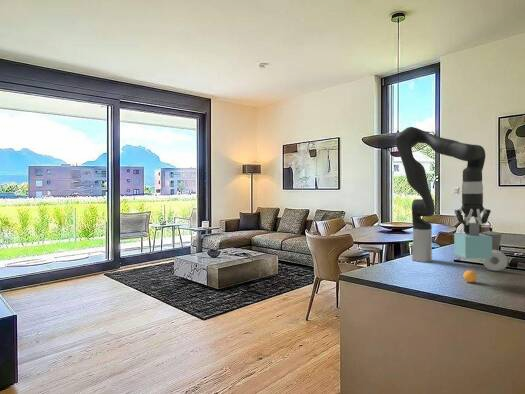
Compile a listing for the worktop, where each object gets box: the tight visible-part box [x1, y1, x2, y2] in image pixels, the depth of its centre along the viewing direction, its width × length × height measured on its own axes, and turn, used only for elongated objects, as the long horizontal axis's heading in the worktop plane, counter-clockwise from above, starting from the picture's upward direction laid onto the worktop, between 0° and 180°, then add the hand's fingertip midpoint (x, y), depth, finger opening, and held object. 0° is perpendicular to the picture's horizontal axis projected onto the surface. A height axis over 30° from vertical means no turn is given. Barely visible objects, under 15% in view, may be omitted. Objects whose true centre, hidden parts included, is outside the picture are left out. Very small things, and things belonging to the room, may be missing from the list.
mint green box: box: [453, 222, 492, 259], centre depth 146 cm, size 10×10×14 cm
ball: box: [463, 269, 478, 283], centre depth 146 cm, size 5×5×5 cm
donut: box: [482, 250, 508, 272], centre depth 164 cm, size 10×4×10 cm, turn 50°
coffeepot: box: [480, 227, 503, 264], centre depth 181 cm, size 15×9×18 cm, turn 110°
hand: (472, 233), depth 146 cm, fingers closed on mint green box, 3 cm apart
